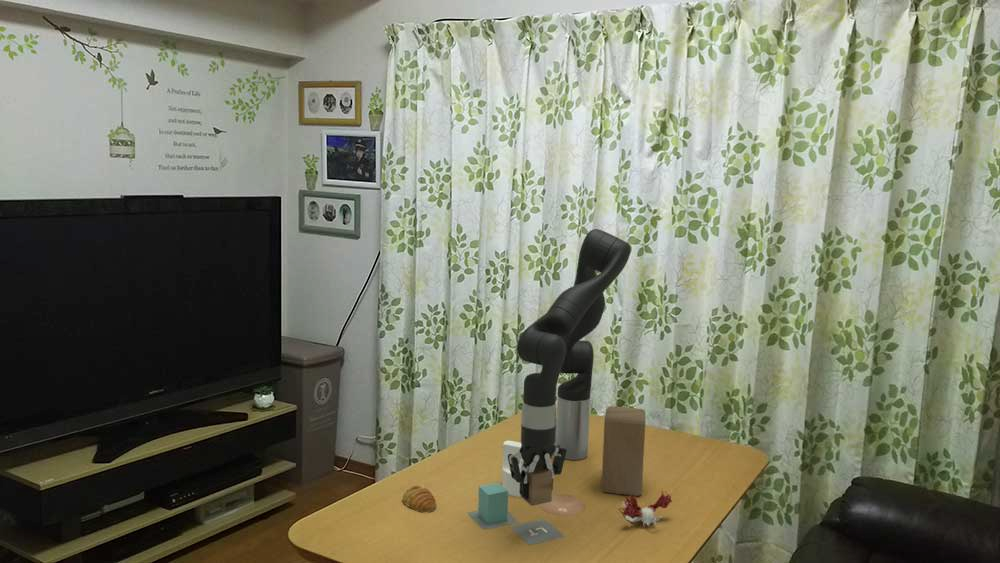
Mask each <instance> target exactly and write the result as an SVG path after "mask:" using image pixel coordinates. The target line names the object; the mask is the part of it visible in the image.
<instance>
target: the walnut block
mask: <svg viewBox="0 0 1000 563" xmlns="http://www.w3.org/2000/svg"><path fill="white" fill-rule="evenodd" d="M528 468H529V466H528ZM552 475H553V472H552V471H551V470H549V471H548V470H547V469H546V468H545V467H537V468H535V469H534V472H533V474H530V477H529V482H528V483H529V498H528V499H524V498H523V497H522V496H521V497H520V498H522V499H523V500H524V501H525V502H526V503H527V504H529V505H530V506H531V507H532V506H537V505H538V506H539V504H543V503H548V502H551V500H552V494H553V490H552Z"/></svg>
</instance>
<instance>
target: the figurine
mask: <svg viewBox="0 0 1000 563" xmlns="http://www.w3.org/2000/svg"><path fill="white" fill-rule="evenodd" d="M628 496H629V497H627V496H626V495H624V498H625V499H623V502H622V506H623V507H624V508H621V507H619V508H617V510H618V511H620V513H621V514H622V515H623V516H625V520H626V521H629V522H630V523H636V522H639V521H642V523H643V526H645V525H646V526H648V527H650V524H652V523H653V524H654V526H655V527H658V526H656V525H658V524H657V522H658V521H660V519H661V518H662V515H659V516H657V517H656V516H654V513H655V512H656V510H657V509H658V508H662V509H667V508H668V506H669V505H670V503H672V502H673V501H672V496H671V494H670V493H669V494H668V493H667V491H663V490H661V495H660V497H659V498H658V499H657V500H656V502H655V503H653V504H649V505H648V506H647V507H646V506H645V507H640V506H639V505H638V499H637V496H636V494H634V495H628ZM633 517H634V518H633ZM643 528H644V530H645V527H643Z"/></svg>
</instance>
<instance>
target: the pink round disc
mask: <svg viewBox="0 0 1000 563" xmlns="http://www.w3.org/2000/svg"><path fill="white" fill-rule="evenodd" d="M538 506H539V508H540V509H541V510H542V511H544V512H546V513H547V514H551V515H555V516H574V515H577V514H580V513H582V512H583V511H584V510H585V503H584V501H583V500H581V498H579V497H576V496H573V495H570V494H564V493H560V494H559V493H557V494H556V493H554V494H553V493H552V500H551V502H548V503H543V504H538Z"/></svg>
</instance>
